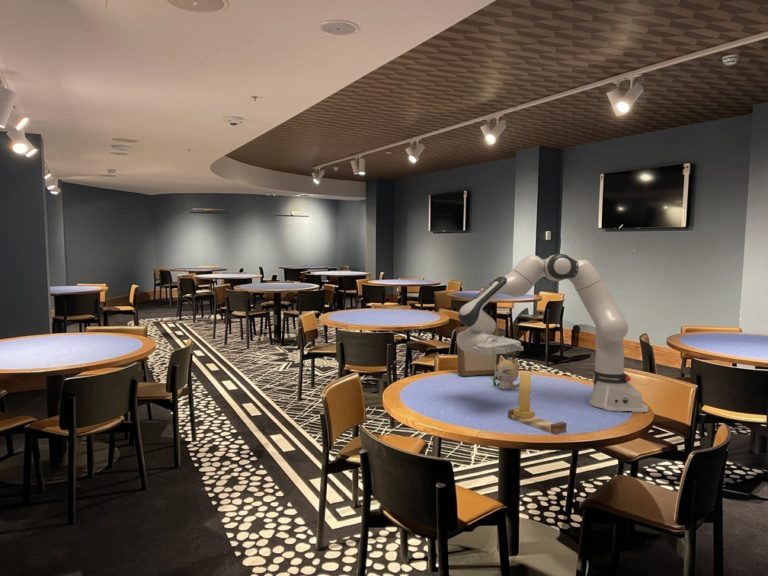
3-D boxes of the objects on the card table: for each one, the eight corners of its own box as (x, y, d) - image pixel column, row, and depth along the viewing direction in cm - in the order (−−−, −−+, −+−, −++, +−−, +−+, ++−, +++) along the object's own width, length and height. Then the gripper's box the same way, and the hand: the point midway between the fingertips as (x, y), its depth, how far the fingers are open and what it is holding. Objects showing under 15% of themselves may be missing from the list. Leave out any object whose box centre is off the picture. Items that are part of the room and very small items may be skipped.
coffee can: (518, 381, 265) (519, 353, 264) (500, 382, 262) (501, 354, 261) (508, 376, 274) (509, 349, 273) (490, 377, 272) (491, 350, 271)
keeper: (513, 414, 205) (514, 373, 204) (522, 412, 208) (523, 371, 207) (525, 418, 200) (527, 376, 199) (534, 416, 203) (536, 374, 202)
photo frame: (501, 375, 277) (502, 327, 275) (462, 377, 271) (463, 328, 270) (489, 369, 291) (490, 323, 290) (451, 371, 286) (452, 324, 284)
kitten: (486, 386, 253) (487, 355, 252) (500, 384, 259) (501, 353, 258) (511, 394, 241) (512, 361, 240) (525, 390, 247) (526, 358, 246)
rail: (507, 417, 207) (508, 410, 206) (518, 415, 210) (518, 407, 210) (555, 434, 189) (555, 426, 188) (566, 431, 192) (566, 423, 192)
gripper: (469, 340, 213) (495, 345, 202) (504, 335, 225) (531, 339, 214) (469, 356, 214) (495, 361, 202) (504, 350, 225) (531, 355, 214)
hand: (513, 350), depth 208 cm, fingers open, 8 cm apart
